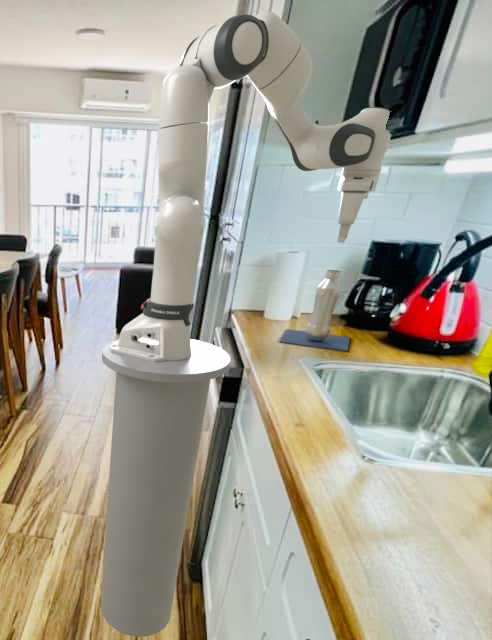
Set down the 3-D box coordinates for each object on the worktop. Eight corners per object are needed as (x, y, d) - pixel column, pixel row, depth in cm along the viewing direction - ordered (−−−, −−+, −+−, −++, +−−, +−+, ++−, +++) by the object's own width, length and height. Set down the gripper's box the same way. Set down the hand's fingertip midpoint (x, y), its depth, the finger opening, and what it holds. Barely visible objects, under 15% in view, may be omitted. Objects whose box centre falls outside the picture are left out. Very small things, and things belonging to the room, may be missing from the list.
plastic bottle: (326, 338, 147) (346, 269, 137) (327, 344, 142) (347, 273, 132) (303, 336, 149) (321, 268, 140) (303, 341, 144) (321, 271, 134)
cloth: (279, 342, 144) (280, 341, 144) (287, 330, 156) (287, 329, 156) (347, 351, 136) (347, 350, 136) (349, 338, 149) (349, 337, 148)
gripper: (345, 183, 135) (331, 237, 141) (342, 183, 119) (326, 243, 126) (371, 184, 132) (355, 238, 139) (371, 183, 116) (353, 245, 123)
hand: (341, 241), depth 132 cm, fingers open, 8 cm apart
